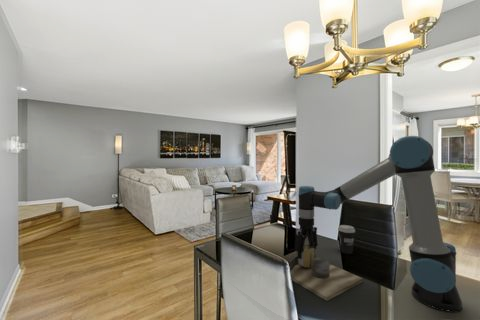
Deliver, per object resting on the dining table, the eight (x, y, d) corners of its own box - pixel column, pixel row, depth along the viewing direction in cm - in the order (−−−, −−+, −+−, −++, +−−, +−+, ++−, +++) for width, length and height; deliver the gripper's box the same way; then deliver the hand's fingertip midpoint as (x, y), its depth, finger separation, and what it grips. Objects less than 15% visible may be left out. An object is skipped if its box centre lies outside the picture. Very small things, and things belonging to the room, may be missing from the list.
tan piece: (316, 264, 114) (316, 246, 114) (306, 268, 111) (307, 249, 111) (305, 259, 120) (305, 242, 120) (296, 263, 116) (296, 245, 116)
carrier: (362, 281, 105) (362, 255, 105) (326, 301, 90) (326, 270, 90) (313, 259, 128) (313, 237, 128) (278, 272, 113) (278, 247, 113)
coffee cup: (339, 254, 135) (339, 228, 135) (336, 248, 144) (336, 224, 144) (357, 255, 133) (357, 229, 133) (353, 249, 142) (353, 225, 142)
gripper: (313, 213, 124) (313, 255, 124) (286, 218, 113) (286, 265, 113) (325, 216, 118) (325, 260, 118) (298, 221, 107) (298, 271, 107)
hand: (306, 262), depth 115 cm, fingers closed on tan piece, 7 cm apart
